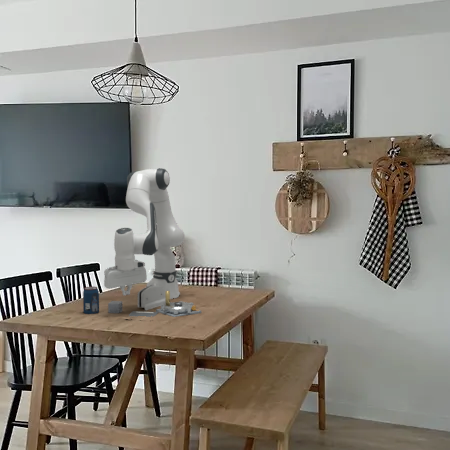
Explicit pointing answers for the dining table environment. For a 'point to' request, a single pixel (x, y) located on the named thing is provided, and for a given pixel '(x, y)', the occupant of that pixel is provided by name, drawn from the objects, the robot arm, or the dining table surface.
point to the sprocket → (176, 306)
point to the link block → (115, 307)
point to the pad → (143, 313)
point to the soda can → (90, 300)
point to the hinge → (151, 297)
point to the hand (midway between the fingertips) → (126, 294)
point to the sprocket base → (179, 313)
